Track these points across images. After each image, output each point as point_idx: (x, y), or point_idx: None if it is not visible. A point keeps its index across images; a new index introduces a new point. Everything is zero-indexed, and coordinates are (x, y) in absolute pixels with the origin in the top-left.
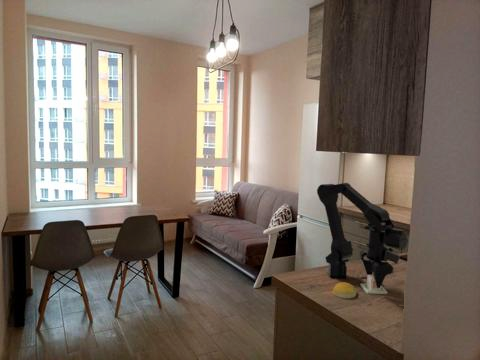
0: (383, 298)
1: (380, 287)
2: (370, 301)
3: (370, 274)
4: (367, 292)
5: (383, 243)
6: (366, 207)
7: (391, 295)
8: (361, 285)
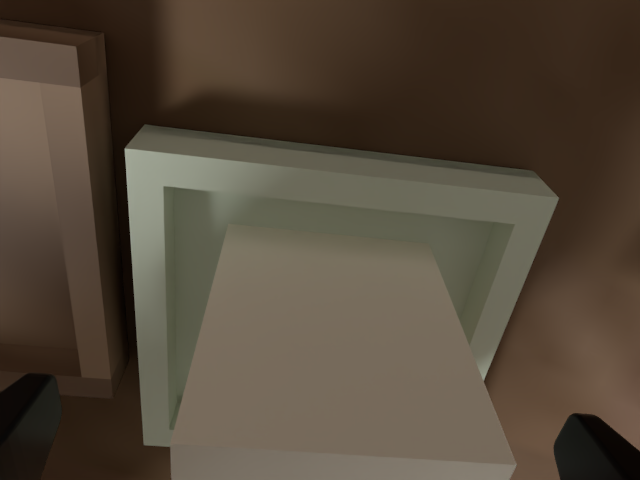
0: (622, 289)
1: (444, 307)
2: None
3: (8, 475)
4: None
5: None
6: None
7: (572, 93)
8: None
